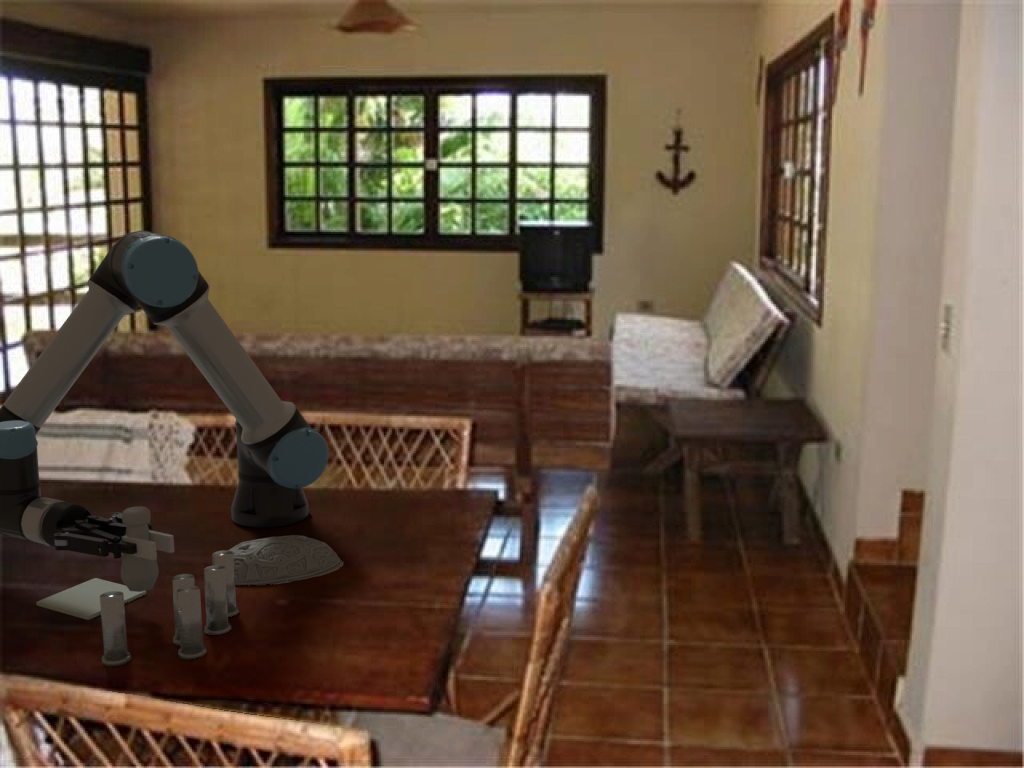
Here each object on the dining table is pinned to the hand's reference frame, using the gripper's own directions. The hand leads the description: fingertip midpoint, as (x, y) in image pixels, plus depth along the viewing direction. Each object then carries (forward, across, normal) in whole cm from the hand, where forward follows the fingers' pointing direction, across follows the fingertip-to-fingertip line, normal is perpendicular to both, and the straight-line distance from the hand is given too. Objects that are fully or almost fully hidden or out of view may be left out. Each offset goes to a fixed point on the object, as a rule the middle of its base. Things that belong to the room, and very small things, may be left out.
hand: (163, 547), depth 177 cm
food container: (0, -26, -13) cm, 29 cm away
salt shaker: (-5, 0, -8) cm, 9 cm away
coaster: (-17, 0, -12) cm, 21 cm away
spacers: (+6, +4, -12) cm, 14 cm away
